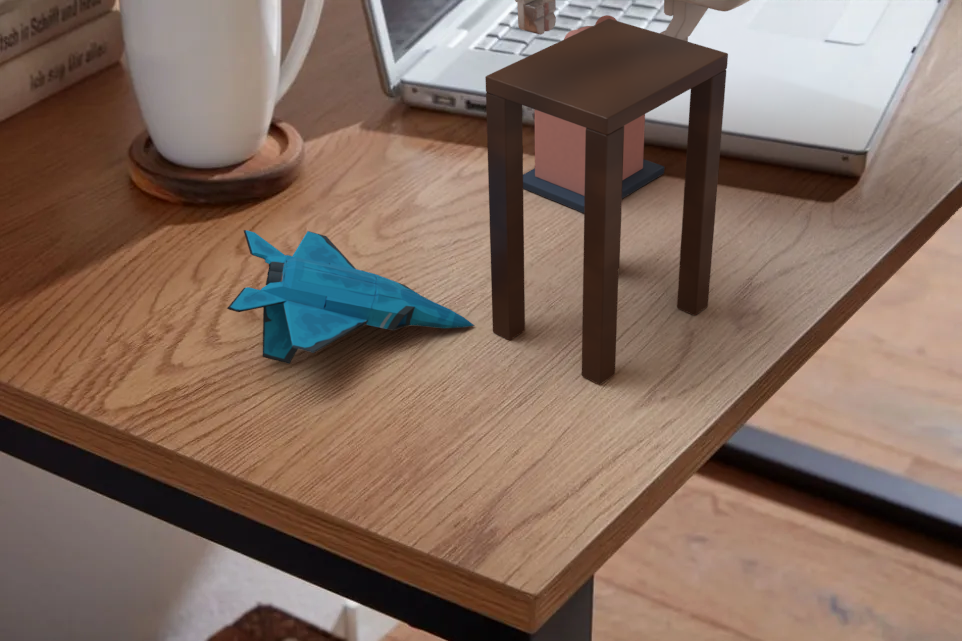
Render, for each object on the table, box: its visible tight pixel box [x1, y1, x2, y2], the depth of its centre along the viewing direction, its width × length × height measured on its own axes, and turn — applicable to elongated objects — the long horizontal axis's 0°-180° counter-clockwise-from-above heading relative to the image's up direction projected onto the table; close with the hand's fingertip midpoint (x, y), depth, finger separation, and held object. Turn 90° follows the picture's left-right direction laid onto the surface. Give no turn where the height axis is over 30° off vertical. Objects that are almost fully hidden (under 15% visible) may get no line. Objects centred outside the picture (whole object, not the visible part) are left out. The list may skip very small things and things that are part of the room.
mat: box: [523, 158, 666, 214], centre depth 81 cm, size 6×7×1 cm
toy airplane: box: [226, 229, 475, 365], centre depth 68 cm, size 12×10×4 cm
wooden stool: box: [484, 19, 729, 385], centre depth 65 cm, size 7×9×14 cm
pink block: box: [534, 14, 646, 196], centre depth 78 cm, size 4×5×10 cm
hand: (599, 48), depth 77 cm, fingers open, 8 cm apart
